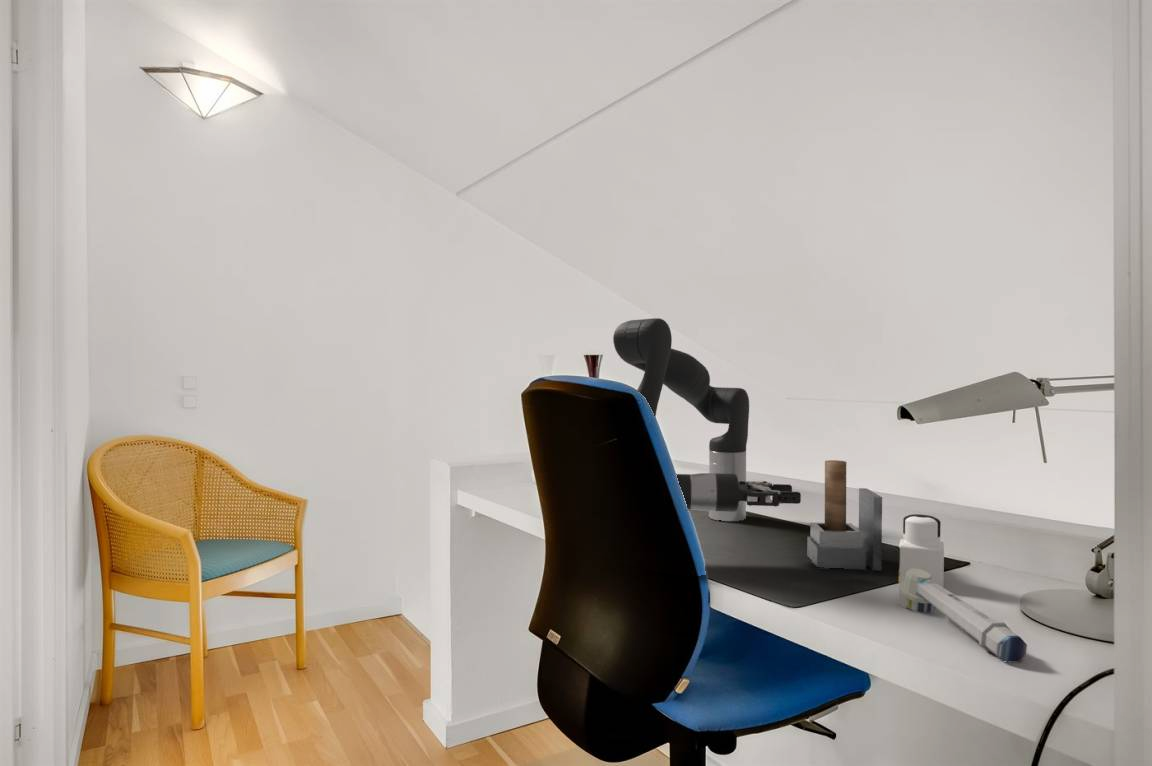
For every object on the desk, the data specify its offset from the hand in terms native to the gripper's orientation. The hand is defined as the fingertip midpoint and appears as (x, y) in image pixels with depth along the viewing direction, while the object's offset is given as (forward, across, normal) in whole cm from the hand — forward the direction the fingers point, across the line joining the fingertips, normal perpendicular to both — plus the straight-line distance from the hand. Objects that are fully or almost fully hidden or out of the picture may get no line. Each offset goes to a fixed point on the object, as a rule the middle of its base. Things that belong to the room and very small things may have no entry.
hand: (795, 493), depth 145 cm
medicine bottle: (+20, -12, +14) cm, 27 cm away
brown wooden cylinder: (+8, 0, +10) cm, 12 cm away
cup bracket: (+9, 0, +14) cm, 16 cm away
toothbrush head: (+16, -35, +14) cm, 41 cm away
